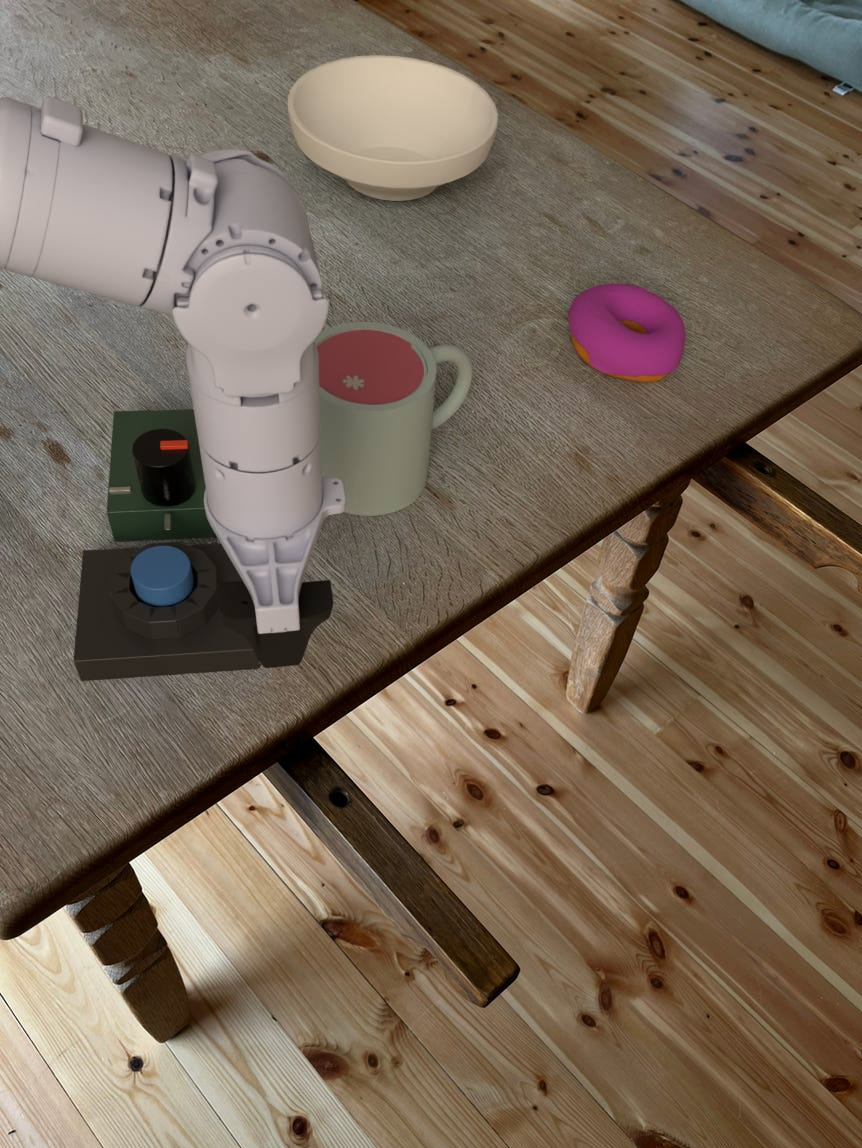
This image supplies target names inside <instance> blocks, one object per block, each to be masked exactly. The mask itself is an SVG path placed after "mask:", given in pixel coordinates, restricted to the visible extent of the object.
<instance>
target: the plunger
mask: <svg viewBox="0 0 862 1148" xmlns="http://www.w3.org/2000/svg"><path fill="white" fill-rule="evenodd" d="M131 576H132V579H133V583H134V587H135V591H136V593H137V595H138V596H139V598H140V599H142V600H143V601H144V602H146V603H148V604H150V605H154V606H170V605H174V604H176V603H179V602H181V601H182V600H184V599H185V598H186V597H187V596H188V595H189V594H190V592H191V591H192V588H193V585H194V579H193V574H192V568H191V563H190V560H189V558H188V556H187V555H186V554H185V553H184V552H183V551H181V550H180V549H178V548H175V547H172V546H165V545H161V546H154V547H151V548H148V549H146V550H144V551H142V552H141V553H140V554H138V555H137V556H136V557H135V559H134V560H133V562H132V565H131Z"/></svg>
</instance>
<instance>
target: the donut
mask: <svg viewBox="0 0 862 1148" xmlns="http://www.w3.org/2000/svg"><path fill="white" fill-rule="evenodd" d="M567 315H568V327H569V331H570V336H571V340H572V344H573V346H574V349H575V351H576V353H577V354H578V356H579V357H580V358H581V359H582V360H583V362H584V363H586V364H587V365H588V366H590V367H591V368H592V369H594V370H596V372H597V371H598V373H601V374H604V375H607V376H609V377H613V378H616V379H621V380H625V381H631V382H637V383H653V382H659V381H661V380H662V379H664V378H666V377H667V376H668V375H669V374H672V373H673V372H675V371H676V370H677V369H678V367H679V365H680V363H681V360H682V357H683V354H684V350H685V344H686V336H687V335H686V326H685V323H684V320H683V318H682V316H681V314H680V313H679V312H678V311H677V310H676V308H675V307H673V306H672V304H670V303H669V302H667V301H666V300H665V299H663V298H662V297H661V296H659V295H657V294H656V293H654V292H652V291H650V290H649V289H646V288H644V287H641V286H637V285H634V284H629V283H620V282H619V283H618V282H617V283H616V282H615V283H614V282H613V283H605V284H598V285H594V286H591V287H588V288H587V289H585V290H583V291H582V292H580V293H578V295H576V296H575V298H573V300H572V302H571V304H570V306H569V308H568V311H567Z"/></svg>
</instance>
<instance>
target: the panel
mask: <svg viewBox="0 0 862 1148" xmlns="http://www.w3.org/2000/svg"><path fill="white" fill-rule="evenodd" d="M154 429H170V430H174V431H177V432H179V433H180V434H182V435H183V436H184V437H185V438H186V439H187V441H188V444H189V450H190V456H191V462H192V467H193V473H194V479H195V491H194V493H193V495H192V496H191V497H190V498H189V499H188V500H187V501H186V502H184V503H182V504H179V505H176V506H171V507H162V506H157V505H154V504H152V503H150V502H148V501H147V500H146V499H145V498H144V496H143V495H142V491H141V487H140V483H139V479H138V474H137V470H136V466H135V461H134V457H133V453H132V446H133V443H134V442H135V440H136V439H137V438H138V437H139V436H140V435H142V434H143V433H145V432H147V431H150V430H154ZM111 431H112V432H111V445H110V459H109V472H108V487H107V488H108V489H107V501H106V516H107V520H108V522H109V526H110V530H111V533H112V537H113V541H114V542H115V543H119V542H121V543H122V542H140V541H141V542H143V541H162V540H183V539H203V538H206V539H207V538H218V537H217V536H216V534H215V532H214V530H213V529H212V527H211V525H210V523H209V521H208V519H207V516H206V512H205V505H204V493H205V489H206V486H205V480H204V473H203V467H202V461H201V454H200V447H199V441H198V434H197V428H196V422H195V415H194V409H193V408H184V409H183V408H182V409H181V408H180V409H177V408H176V409H145V410H144V409H142V410H114V411H113V417H112V430H111Z"/></svg>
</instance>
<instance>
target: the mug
mask: <svg viewBox="0 0 862 1148" xmlns="http://www.w3.org/2000/svg"><path fill="white" fill-rule="evenodd" d="M314 341H315V344H316V347H317V350H318V355H319V390H320V421H321V459H322V477H327V478H328V477H335V478H339V479H341V480H342V481H343V483H344V489H345V495H346V510H345V511H344V512H343V513H346V514H349V515H354V516H360V517H361V516H362V517H377V516H385V515H389V514H393V513H396V512H399V511H401V510H404V509H405V508H407V507H408V506H410V505H411V504H413V503H414V502H415V501H416V500H418V498H419V497H420V496H421V495H422V493H423V492H424V490H425V488H426V486H427V483H428V477H429V466H430V455H431V444H432V443H431V442H432V431H433V430H434V429H436V428H438V427H440V426H442V425H443V424H445V423H446V422H447V421H448V420H449V419H450V418H452V417H453V416H454V415H455V413H456V412H457V411H458V410H459V409H460V408H461V406H462V405H463V403H464V402H465V400H466V398H467V396H468V393H469V392H470V389H471V385H472V381H473V365H472V362H471V359H470V357H469V355H468V354H467V352H465V350H463V348H461V347H459V346H457V345H454V344H440V345H439V344H438V345H436V346H432V347H430V348H429V347H428V346H427V345H426V343H424V342H423V341H422V340H421V339H420V338H419V337H417V336H416V335H414V334H413V333H411V332H409V331H408V330H405V329H403V328H401V327H397V326H394V325H391V324H387V323H382V322H376V321H351V322H345V323H340V324H337V325H333V326H330V327H327V328H326V329H323V330H321V332H320V334H319V335H318V337H317V338H316V339H315V340H314ZM444 362H451V363H453V364H454V365H455V367H456V369H457V370H456V371H457V375H456V379H455V383H454V386H453V388H452V389H451V392H450V393H449V395H448V397H447V398H446V399H445V400H444V402H442V404H441V405H439V406H438V407H437V408H436V409H435V410H434V407H435V406H434V404H435V394H436V383H437V382H436V381H437V365H438V364H440V363H444Z"/></svg>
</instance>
